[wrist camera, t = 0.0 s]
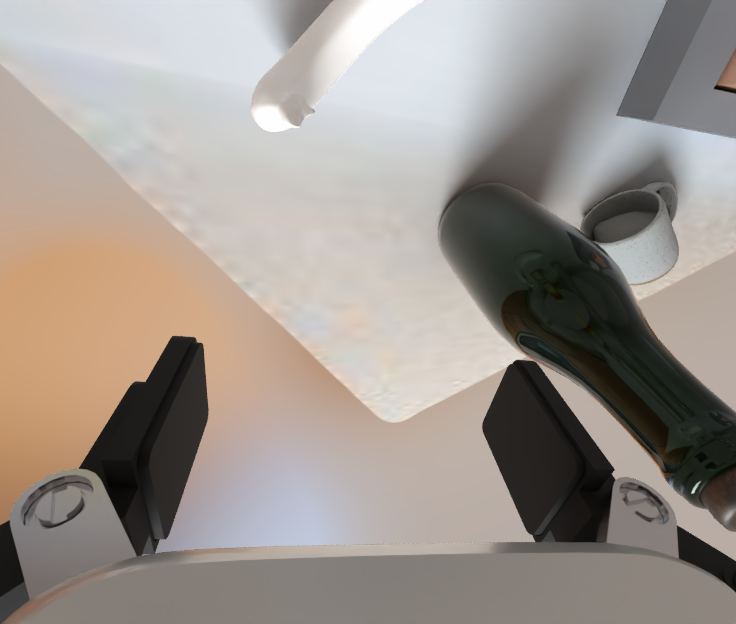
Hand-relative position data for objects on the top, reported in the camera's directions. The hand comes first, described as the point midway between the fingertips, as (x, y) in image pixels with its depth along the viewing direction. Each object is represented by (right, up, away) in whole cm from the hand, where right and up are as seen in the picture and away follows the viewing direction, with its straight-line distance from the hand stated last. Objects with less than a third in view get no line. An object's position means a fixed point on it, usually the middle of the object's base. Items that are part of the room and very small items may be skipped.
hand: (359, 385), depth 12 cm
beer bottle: (+13, +12, +31) cm, 36 cm away
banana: (-1, +26, +21) cm, 33 cm away
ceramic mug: (+29, +13, +32) cm, 46 cm away
